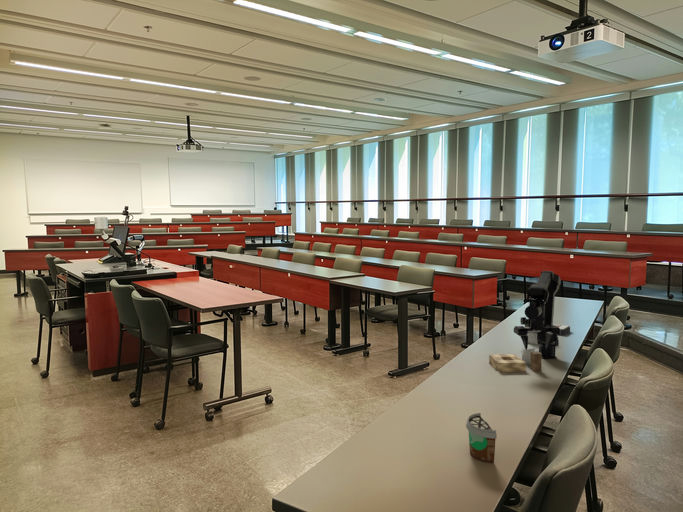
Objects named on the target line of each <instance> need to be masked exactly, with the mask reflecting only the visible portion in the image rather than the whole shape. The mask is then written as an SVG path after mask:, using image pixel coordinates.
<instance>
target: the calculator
mask: <svg viewBox="0 0 683 512" xmlns="http://www.w3.org/2000/svg"><path fill="white" fill-rule="evenodd" d="M553 325H555V326H557V327H559V328H560V330H561V334H557V335H558V336H564V337H565V336H566V335H567V334H570V333H571V326H570V325H564V324H557V323H553Z"/></svg>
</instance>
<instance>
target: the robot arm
mask: <svg viewBox="0 0 683 512" xmlns="http://www.w3.org/2000/svg"><path fill="white" fill-rule="evenodd" d="M561 283H562V280H561V277H560V275H558V274H557V273H554V271H552V270H541V272H540V275H539V277H538V279H537V282H536V283H533V284H531V285H530V287H529V288H528V289H527V295H526V299H525V303H528V306H526V308H525V309H524V315H525V316H524V317H523V316H522V317H520V321H519V322H520V325H516V326H514V327H513V333H514V334H516V335H517V336H519V337H520V339H521V340H522V343H523V347H525V349H526V350H527V348H528V347H529V343H528V336H527V334H528V333H531V332H538V333H537V344H536V345H539V346H538V352H540V353H541V354H542V359H546V360H547V359H558V356H556V347H559V344H560V341H559V335H557V334H561V330H560V328H559V327H557V326H555V325H553V324H554V314H555V313H554V311H555V297H556V296H555V295H556V293H557V292H558V291H559V289H560V286H561ZM525 327H530V328H525Z"/></svg>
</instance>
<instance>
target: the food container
mask: <svg viewBox="0 0 683 512" xmlns="http://www.w3.org/2000/svg"><path fill="white" fill-rule="evenodd" d="M481 415H482V413H480V412H477V413H473V414H471V415H469V416H468V418H467V420H466V423H465V428H466V430H468V443H469V444H468V445H469V454H470V456H471V457H472V458H473V459H474V460H477V461H479V462H483V463H486V464H487V463H488V464H489V463H490V464H492V463H493V464H494V463H495V454H496V441H497V435H498V434H497V430H496V429H492V427H491V425H489V423H488V422H487V421H485V419H483V417H481Z"/></svg>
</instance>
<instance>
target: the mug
mask: <svg viewBox="0 0 683 512" xmlns="http://www.w3.org/2000/svg"><path fill="white" fill-rule="evenodd" d="M524 327H525V326H524ZM525 328H530V327H525ZM537 333H538V332H531V333H528V334H527V336H528V344H531V345H538V344H537Z"/></svg>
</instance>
